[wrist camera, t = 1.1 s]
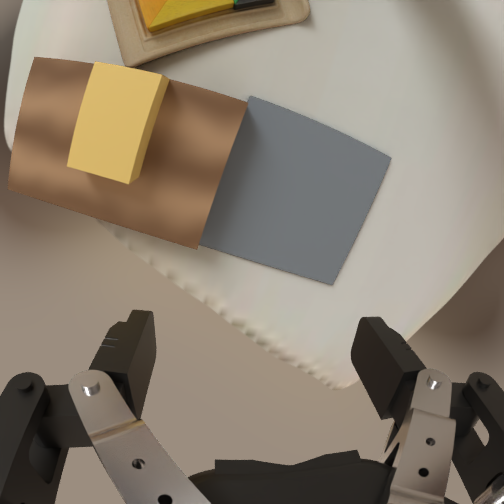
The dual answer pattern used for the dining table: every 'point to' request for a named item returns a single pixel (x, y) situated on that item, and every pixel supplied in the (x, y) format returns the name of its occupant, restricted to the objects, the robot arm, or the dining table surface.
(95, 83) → the ochre tile
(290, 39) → the dining table surface
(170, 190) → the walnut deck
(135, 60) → the wooden puzzle
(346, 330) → the dining table surface
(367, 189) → the slate mat
